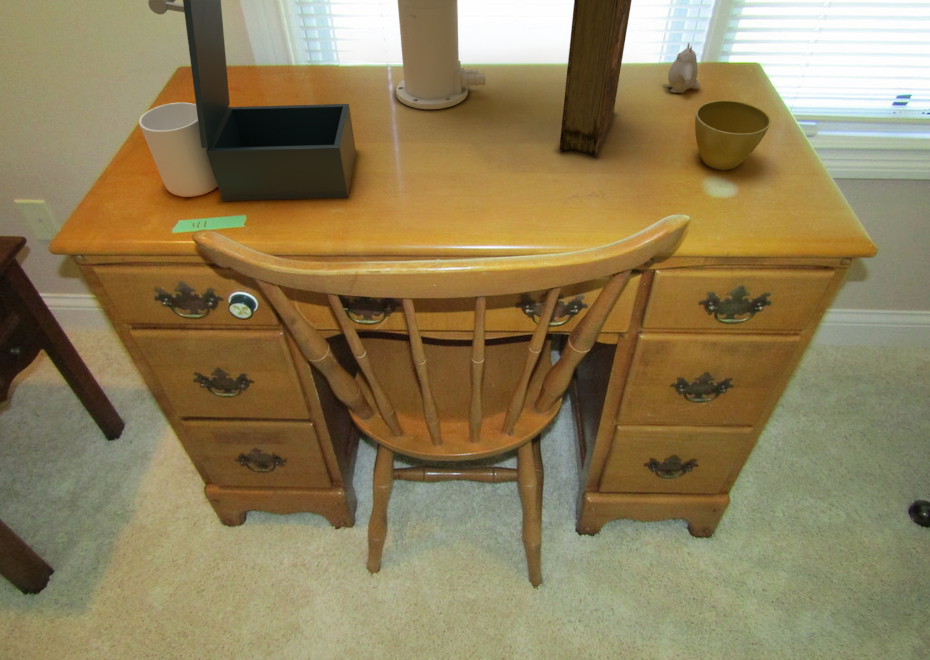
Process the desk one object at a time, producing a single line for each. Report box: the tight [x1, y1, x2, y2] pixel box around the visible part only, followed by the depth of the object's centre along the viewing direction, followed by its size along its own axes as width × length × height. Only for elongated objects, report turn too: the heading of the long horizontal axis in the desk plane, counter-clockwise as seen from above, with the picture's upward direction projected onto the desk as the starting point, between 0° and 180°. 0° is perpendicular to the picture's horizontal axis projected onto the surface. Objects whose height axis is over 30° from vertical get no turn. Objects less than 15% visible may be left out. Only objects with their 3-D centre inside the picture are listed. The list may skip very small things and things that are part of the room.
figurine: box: [666, 42, 701, 94], centre depth 108 cm, size 8×6×8 cm
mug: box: [138, 101, 218, 198], centre depth 90 cm, size 12×8×10 cm
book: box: [559, 0, 632, 157], centre depth 92 cm, size 16×6×25 cm, turn 160°
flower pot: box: [694, 99, 772, 171], centre depth 92 cm, size 10×10×7 cm
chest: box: [206, 103, 357, 202], centre depth 90 cm, size 18×13×8 cm
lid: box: [148, 0, 231, 148], centre depth 80 cm, size 18×13×6 cm
